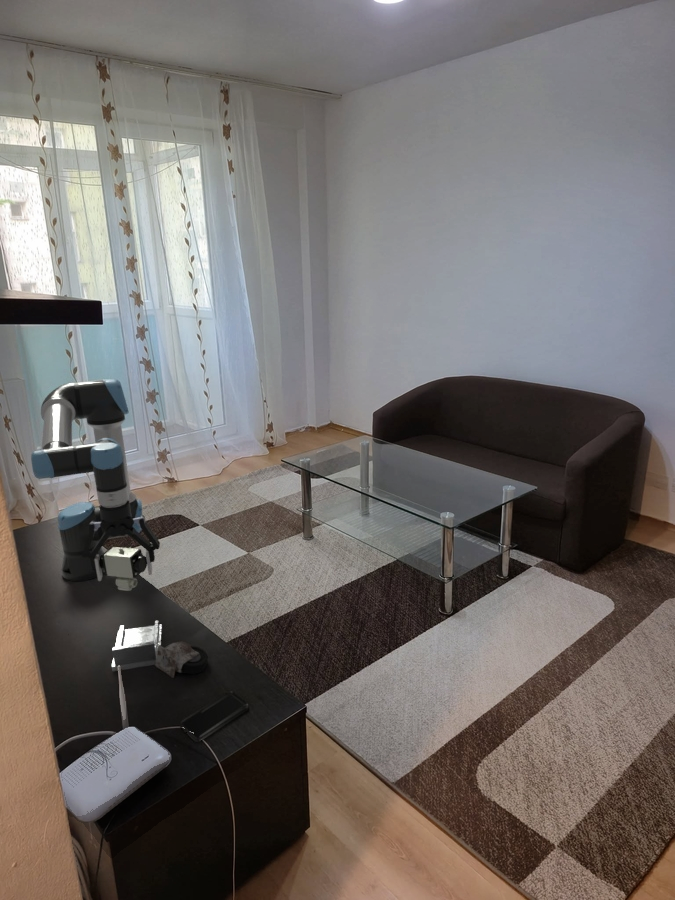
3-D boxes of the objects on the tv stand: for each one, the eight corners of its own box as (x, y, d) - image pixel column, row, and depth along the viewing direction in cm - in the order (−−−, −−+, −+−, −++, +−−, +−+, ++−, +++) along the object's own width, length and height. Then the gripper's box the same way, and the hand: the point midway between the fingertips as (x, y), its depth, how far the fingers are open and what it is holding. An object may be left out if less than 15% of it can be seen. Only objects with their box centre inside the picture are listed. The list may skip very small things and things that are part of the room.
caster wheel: (211, 670, 165) (185, 688, 157) (180, 650, 170) (153, 666, 161) (215, 650, 163) (189, 667, 155) (184, 629, 168) (157, 645, 159)
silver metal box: (119, 635, 177) (115, 615, 175) (162, 628, 179) (159, 609, 177) (112, 671, 162) (109, 650, 160) (159, 663, 164) (156, 643, 162)
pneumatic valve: (142, 594, 165) (136, 554, 161) (103, 590, 167) (96, 550, 163) (152, 583, 170) (147, 544, 166) (114, 579, 172) (107, 541, 168)
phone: (250, 705, 148) (196, 740, 138) (250, 709, 149) (197, 744, 139) (230, 689, 153) (177, 722, 143) (230, 693, 154) (178, 726, 144)
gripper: (61, 513, 154) (75, 588, 161) (162, 503, 159) (171, 576, 166) (67, 501, 161) (80, 574, 168) (163, 492, 166) (172, 563, 173)
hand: (125, 575), depth 167 cm, fingers closed on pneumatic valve, 12 cm apart
